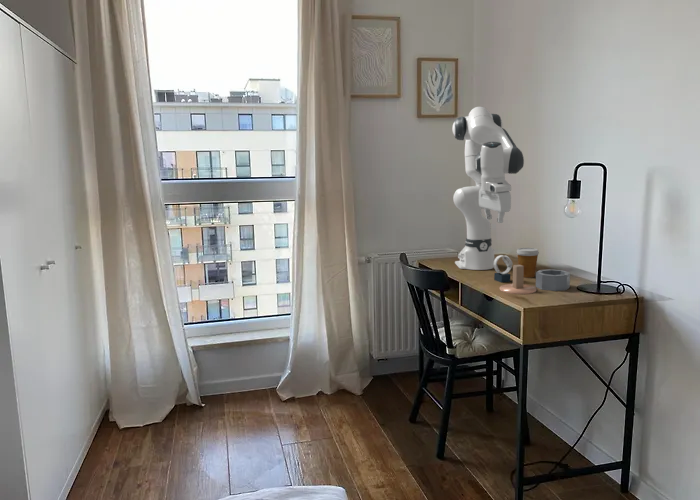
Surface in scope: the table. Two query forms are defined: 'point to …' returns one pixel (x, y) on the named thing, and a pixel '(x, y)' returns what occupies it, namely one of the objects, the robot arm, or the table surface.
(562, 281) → the bowl
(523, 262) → the disposable coffee cup
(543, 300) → the table surface
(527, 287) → the lid
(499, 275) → the watch
